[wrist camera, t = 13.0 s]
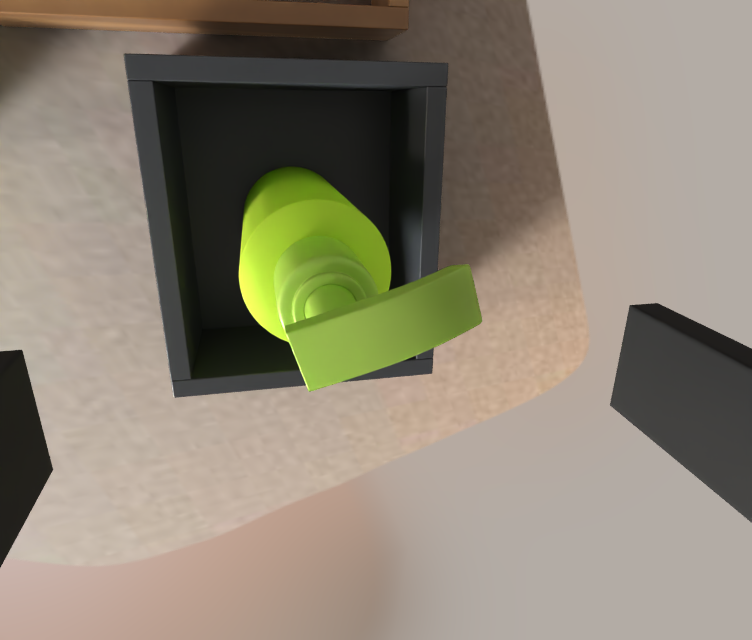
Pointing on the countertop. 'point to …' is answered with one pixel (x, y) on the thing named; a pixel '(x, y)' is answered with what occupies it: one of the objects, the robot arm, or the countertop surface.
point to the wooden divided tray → (215, 17)
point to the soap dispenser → (339, 283)
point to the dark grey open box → (255, 159)
